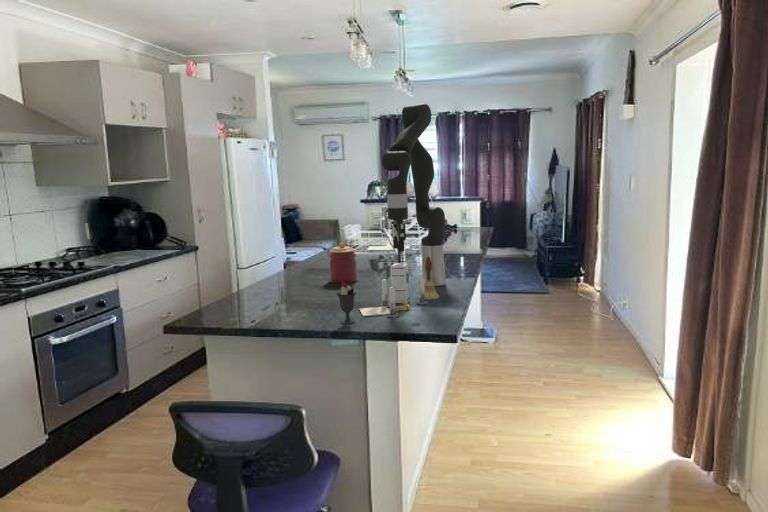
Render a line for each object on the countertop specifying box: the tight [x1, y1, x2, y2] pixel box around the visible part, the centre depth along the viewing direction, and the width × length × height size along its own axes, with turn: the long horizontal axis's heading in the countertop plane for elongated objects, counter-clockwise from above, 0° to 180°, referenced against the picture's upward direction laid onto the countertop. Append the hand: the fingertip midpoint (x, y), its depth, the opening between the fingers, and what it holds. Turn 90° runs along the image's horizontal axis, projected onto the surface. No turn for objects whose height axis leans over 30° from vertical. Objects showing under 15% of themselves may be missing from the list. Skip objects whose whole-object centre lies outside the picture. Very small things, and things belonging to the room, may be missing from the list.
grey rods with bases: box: [378, 276, 429, 318], centre depth 203 cm, size 18×18×10 cm
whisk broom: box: [417, 257, 440, 301], centre depth 220 cm, size 8×8×16 cm
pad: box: [358, 306, 390, 317], centre depth 201 cm, size 10×10×1 cm
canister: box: [327, 242, 359, 284], centre depth 257 cm, size 13×13×18 cm
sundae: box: [335, 278, 357, 325], centre depth 188 cm, size 7×7×15 cm
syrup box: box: [390, 262, 411, 305], centre depth 214 cm, size 6×6×14 cm
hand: (398, 249), depth 212 cm, fingers open, 8 cm apart
